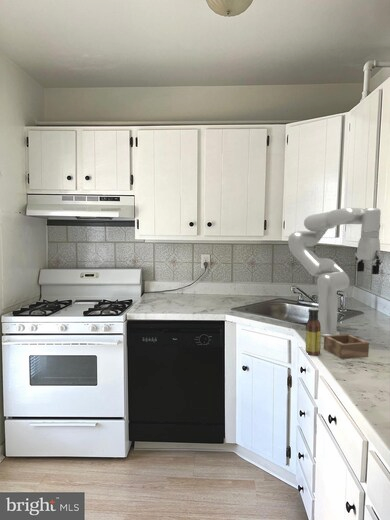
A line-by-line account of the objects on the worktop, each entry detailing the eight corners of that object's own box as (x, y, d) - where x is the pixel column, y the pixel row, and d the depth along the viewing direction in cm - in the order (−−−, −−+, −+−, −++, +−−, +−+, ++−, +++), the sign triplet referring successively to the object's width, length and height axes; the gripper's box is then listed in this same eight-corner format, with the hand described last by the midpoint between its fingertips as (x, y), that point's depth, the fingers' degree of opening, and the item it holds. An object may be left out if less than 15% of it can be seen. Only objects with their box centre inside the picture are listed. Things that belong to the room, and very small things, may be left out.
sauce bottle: (317, 350, 164) (319, 307, 162) (322, 355, 158) (324, 310, 156) (302, 350, 164) (304, 306, 162) (307, 355, 158) (309, 310, 156)
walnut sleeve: (323, 348, 167) (324, 335, 167) (348, 346, 171) (349, 334, 170) (341, 359, 155) (342, 345, 154) (368, 356, 158) (369, 343, 158)
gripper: (350, 234, 176) (348, 270, 177) (376, 236, 159) (374, 275, 161) (363, 234, 178) (361, 270, 179) (391, 236, 161) (388, 275, 163)
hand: (367, 272), depth 170 cm, fingers open, 9 cm apart
